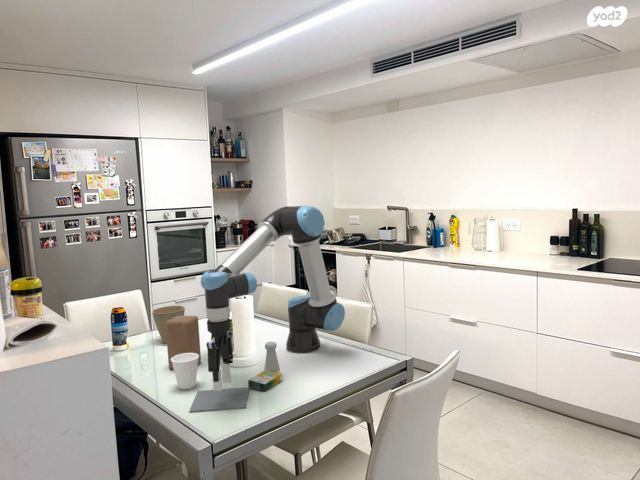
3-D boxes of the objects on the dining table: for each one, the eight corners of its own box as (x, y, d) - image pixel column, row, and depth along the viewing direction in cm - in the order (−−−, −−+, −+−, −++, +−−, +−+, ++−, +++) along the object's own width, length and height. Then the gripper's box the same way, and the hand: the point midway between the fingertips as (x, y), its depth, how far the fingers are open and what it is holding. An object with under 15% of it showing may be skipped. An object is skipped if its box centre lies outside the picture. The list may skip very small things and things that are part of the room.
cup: (186, 394, 168) (183, 363, 167) (167, 389, 174) (164, 359, 173) (206, 383, 177) (204, 354, 176) (187, 379, 182) (185, 351, 181)
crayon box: (264, 392, 167) (283, 380, 177) (264, 384, 167) (283, 372, 177) (247, 387, 171) (267, 376, 181) (247, 379, 170) (267, 368, 180)
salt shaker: (282, 373, 183) (280, 340, 182) (276, 379, 178) (274, 345, 177) (268, 372, 185) (266, 339, 184) (262, 378, 180) (260, 344, 178)
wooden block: (191, 371, 191) (187, 321, 189) (168, 370, 193) (164, 321, 191) (202, 362, 201) (198, 315, 199) (180, 361, 203) (176, 315, 201)
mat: (249, 388, 171) (249, 387, 171) (245, 408, 155) (245, 406, 155) (198, 392, 170) (198, 390, 170) (189, 412, 154) (189, 411, 154)
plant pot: (174, 335, 242) (171, 304, 240) (193, 339, 233) (191, 307, 232) (148, 343, 230) (145, 311, 228) (167, 348, 221) (165, 314, 220)
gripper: (221, 311, 170) (225, 375, 172) (193, 326, 152) (198, 396, 154) (240, 312, 168) (244, 376, 170) (214, 327, 150) (219, 398, 152)
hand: (222, 386), depth 162 cm, fingers open, 6 cm apart
